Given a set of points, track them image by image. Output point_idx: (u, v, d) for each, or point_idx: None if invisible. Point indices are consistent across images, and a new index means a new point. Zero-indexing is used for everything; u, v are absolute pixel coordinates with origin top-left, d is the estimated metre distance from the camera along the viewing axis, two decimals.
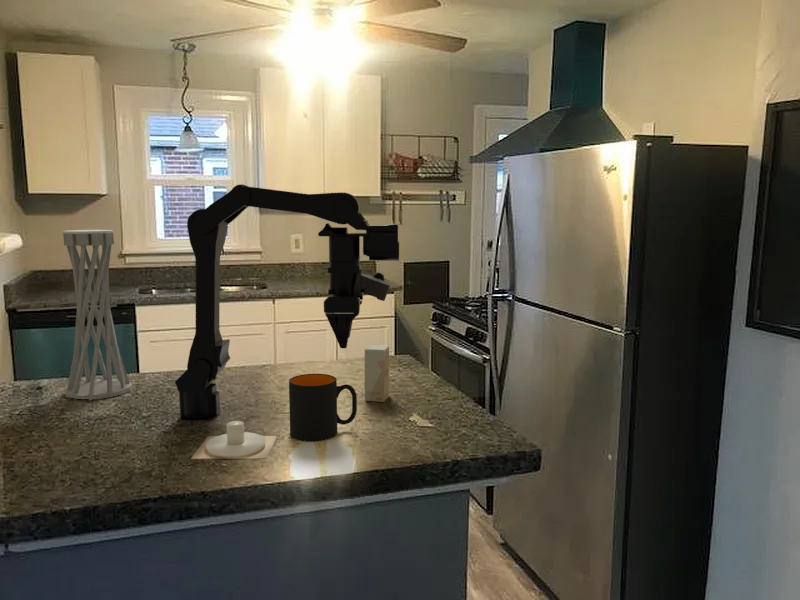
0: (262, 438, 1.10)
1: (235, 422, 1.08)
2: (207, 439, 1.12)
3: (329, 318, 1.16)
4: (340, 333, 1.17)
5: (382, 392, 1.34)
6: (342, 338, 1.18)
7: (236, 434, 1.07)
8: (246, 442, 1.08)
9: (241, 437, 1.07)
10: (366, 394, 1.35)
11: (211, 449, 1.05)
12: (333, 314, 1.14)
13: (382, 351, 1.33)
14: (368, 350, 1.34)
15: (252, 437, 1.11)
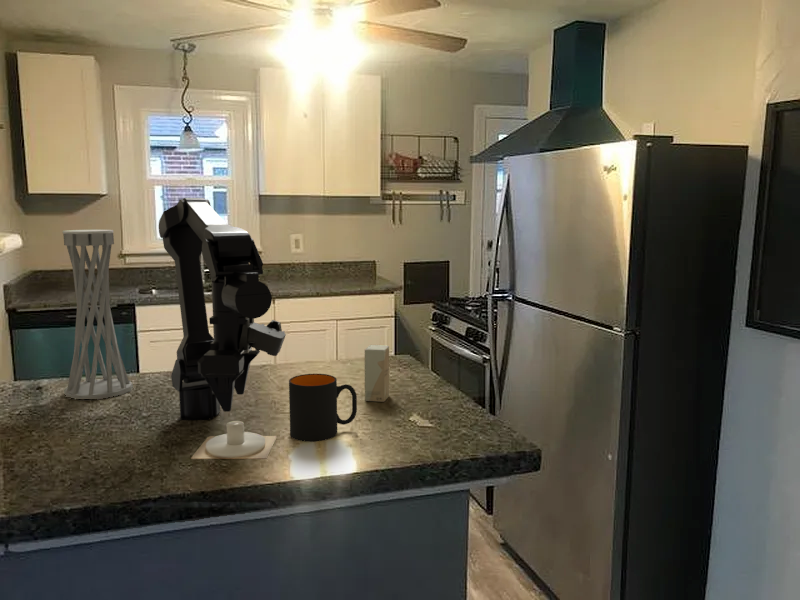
0: (262, 438, 1.10)
1: (235, 422, 1.08)
2: (207, 439, 1.12)
3: (207, 378, 1.00)
4: (222, 395, 1.01)
5: (382, 392, 1.34)
6: (224, 400, 1.02)
7: (236, 434, 1.07)
8: (246, 442, 1.08)
9: (241, 437, 1.07)
10: (366, 394, 1.35)
11: (211, 449, 1.05)
12: (210, 375, 0.98)
13: (382, 351, 1.33)
14: (368, 350, 1.34)
15: (252, 437, 1.11)
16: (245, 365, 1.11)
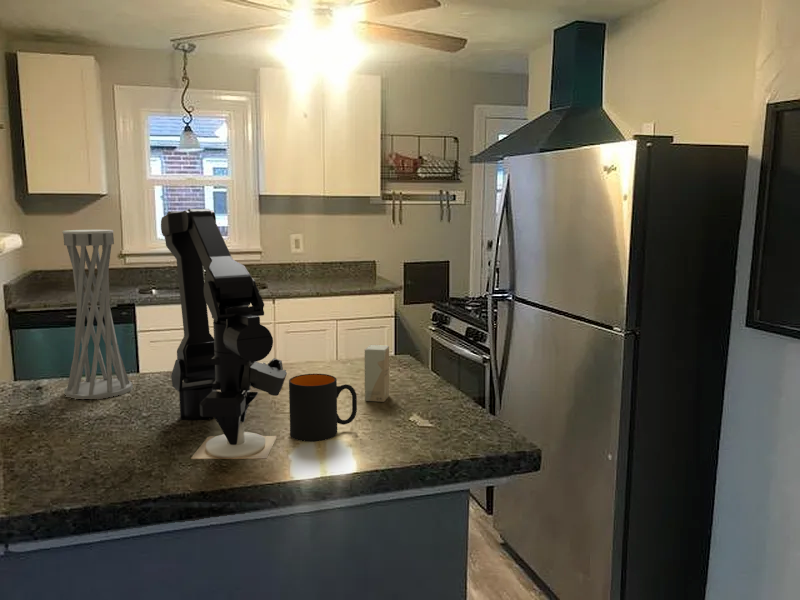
0: (262, 438, 1.10)
1: None
2: (207, 439, 1.12)
3: None
4: (228, 429, 1.05)
5: (382, 392, 1.34)
6: (231, 434, 1.06)
7: None
8: (246, 442, 1.08)
9: (241, 437, 1.07)
10: (366, 394, 1.35)
11: (211, 449, 1.05)
12: None
13: (382, 351, 1.33)
14: (368, 350, 1.34)
15: (252, 437, 1.11)
16: None
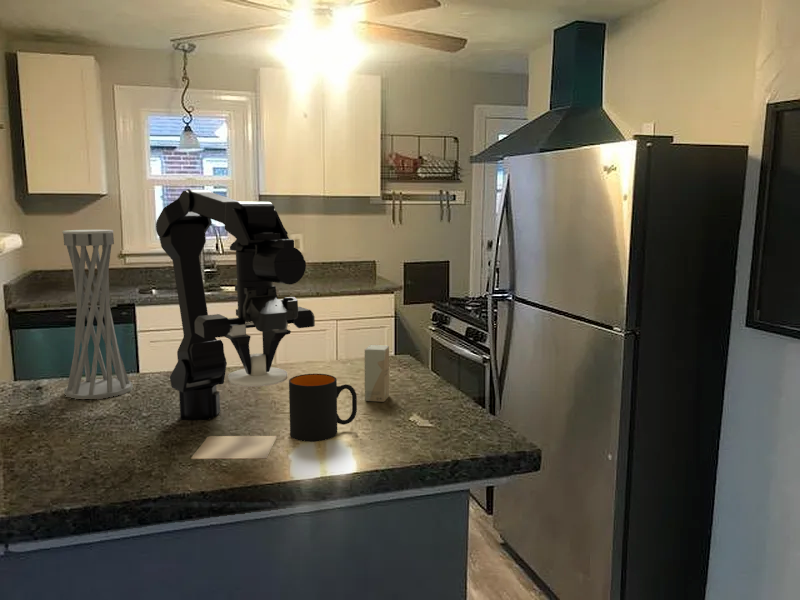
0: (276, 377, 1.05)
1: (260, 354, 1.08)
2: (207, 439, 1.12)
3: None
4: (241, 356, 1.06)
5: (382, 392, 1.34)
6: (243, 362, 1.06)
7: None
8: (260, 376, 1.06)
9: (255, 369, 1.06)
10: (366, 394, 1.35)
11: (232, 372, 1.09)
12: None
13: (382, 351, 1.33)
14: (368, 350, 1.34)
15: (276, 374, 1.07)
16: (269, 342, 1.07)
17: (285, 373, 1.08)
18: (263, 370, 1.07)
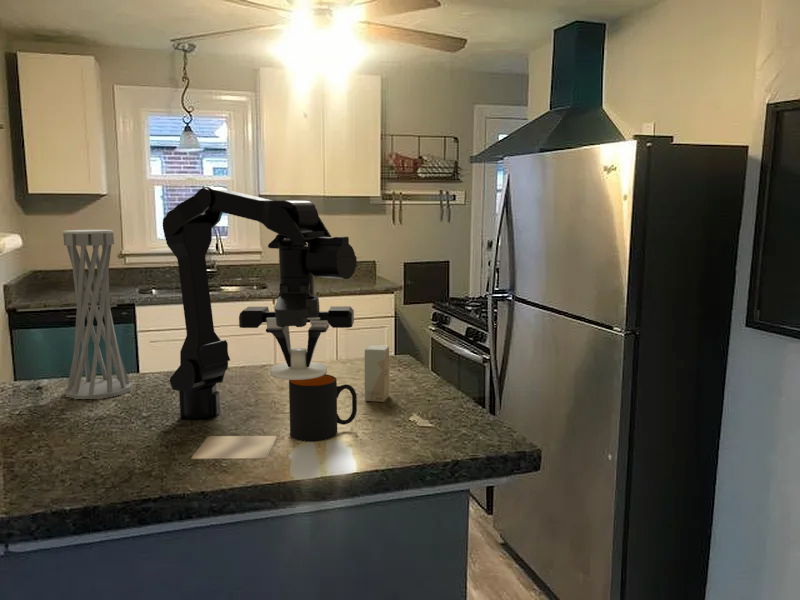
0: (305, 374, 1.07)
1: (302, 349, 1.11)
2: (207, 439, 1.12)
3: None
4: None
5: (382, 392, 1.34)
6: None
7: (290, 358, 1.10)
8: (295, 370, 1.09)
9: (293, 362, 1.10)
10: (366, 394, 1.35)
11: (283, 363, 1.14)
12: None
13: (382, 351, 1.33)
14: (368, 350, 1.34)
15: (310, 371, 1.09)
16: (308, 339, 1.10)
17: (320, 371, 1.09)
18: (300, 365, 1.10)
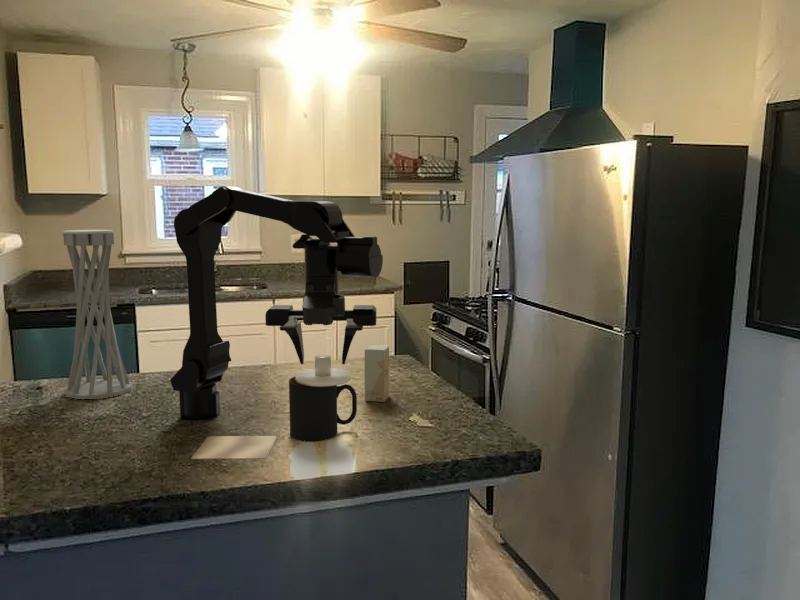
0: (330, 380, 1.10)
1: (326, 356, 1.14)
2: (207, 439, 1.12)
3: None
4: None
5: (382, 392, 1.34)
6: None
7: (315, 365, 1.13)
8: (320, 377, 1.12)
9: (317, 369, 1.13)
10: (366, 394, 1.35)
11: (307, 369, 1.17)
12: None
13: (382, 351, 1.33)
14: (368, 350, 1.34)
15: (334, 377, 1.12)
16: None
17: (344, 377, 1.12)
18: (325, 371, 1.13)
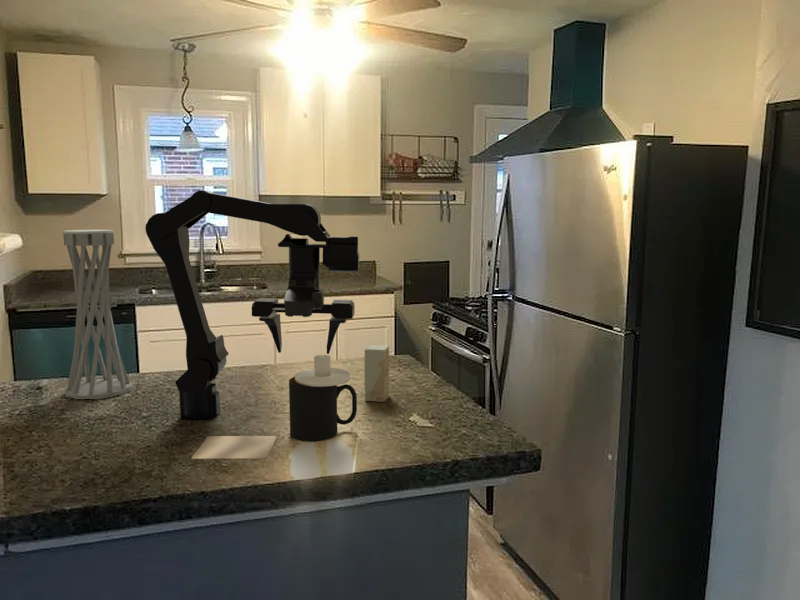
0: (329, 380, 1.10)
1: (326, 356, 1.13)
2: (207, 439, 1.12)
3: None
4: None
5: (382, 392, 1.34)
6: None
7: (314, 365, 1.13)
8: (319, 377, 1.12)
9: (317, 369, 1.13)
10: (366, 394, 1.35)
11: (306, 370, 1.17)
12: None
13: (382, 351, 1.33)
14: (368, 350, 1.34)
15: (334, 378, 1.12)
16: (329, 328, 1.22)
17: (344, 377, 1.12)
18: (324, 372, 1.12)
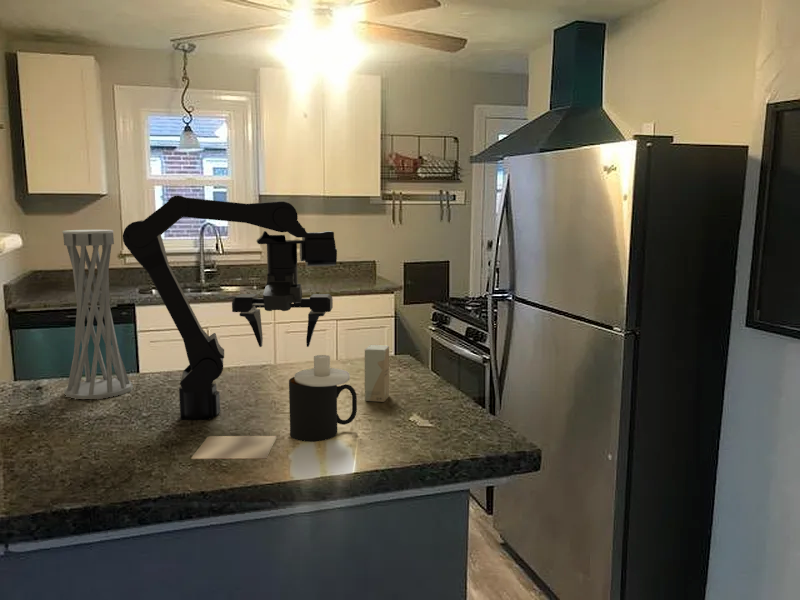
0: (329, 380, 1.10)
1: (325, 356, 1.13)
2: (207, 439, 1.12)
3: None
4: None
5: (382, 392, 1.34)
6: None
7: (314, 365, 1.13)
8: (319, 377, 1.12)
9: (316, 369, 1.13)
10: (366, 394, 1.35)
11: (306, 369, 1.17)
12: None
13: (382, 351, 1.33)
14: (368, 350, 1.34)
15: (334, 378, 1.12)
16: (308, 322, 1.26)
17: (343, 377, 1.12)
18: (324, 371, 1.12)
